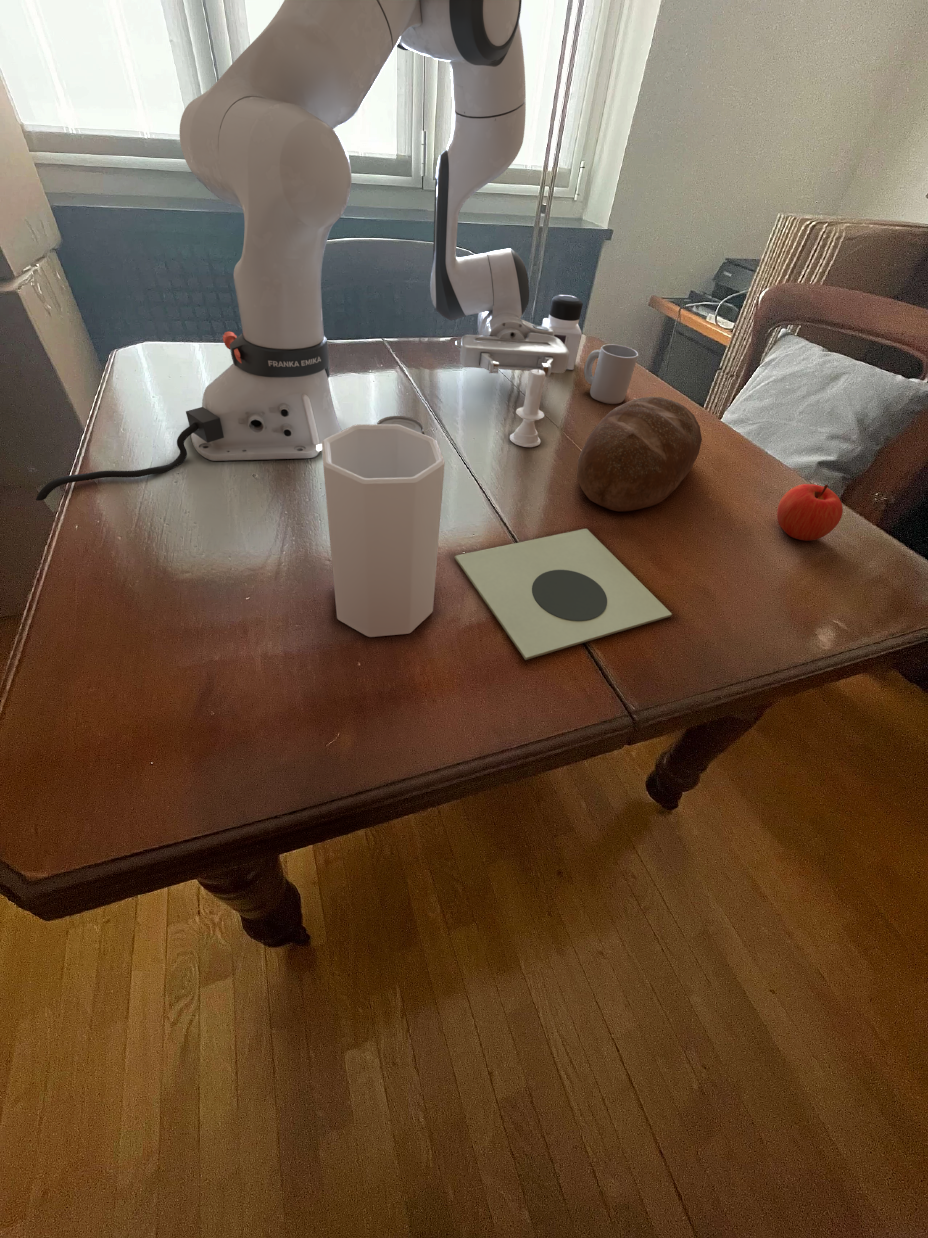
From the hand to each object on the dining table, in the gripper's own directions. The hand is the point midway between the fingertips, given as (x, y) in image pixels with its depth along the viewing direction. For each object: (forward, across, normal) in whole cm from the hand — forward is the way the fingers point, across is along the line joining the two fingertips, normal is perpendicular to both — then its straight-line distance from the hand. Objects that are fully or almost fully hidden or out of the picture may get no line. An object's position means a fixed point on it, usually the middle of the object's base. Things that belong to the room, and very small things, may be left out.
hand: (520, 370), depth 96 cm
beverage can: (+33, -22, +8) cm, 40 cm away
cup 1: (+52, -24, +8) cm, 58 cm away
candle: (+11, 0, +8) cm, 13 cm away
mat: (+49, -3, +8) cm, 49 cm away
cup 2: (-11, +20, +8) cm, 24 cm away
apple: (+37, +36, +8) cm, 52 cm away
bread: (+21, +16, +8) cm, 28 cm away
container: (-28, +15, +8) cm, 32 cm away
